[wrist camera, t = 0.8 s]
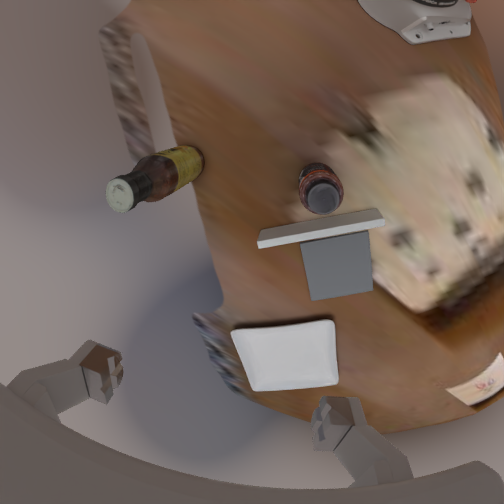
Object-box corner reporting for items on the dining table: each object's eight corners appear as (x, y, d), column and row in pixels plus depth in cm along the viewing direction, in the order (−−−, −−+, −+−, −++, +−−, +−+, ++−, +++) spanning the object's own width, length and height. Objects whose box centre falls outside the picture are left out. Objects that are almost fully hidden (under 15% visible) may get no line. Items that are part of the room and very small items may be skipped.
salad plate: (333, 309, 53) (334, 320, 50) (338, 375, 62) (338, 385, 59) (231, 320, 58) (228, 331, 55) (255, 381, 67) (253, 392, 64)
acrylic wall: (376, 208, 43) (384, 218, 38) (377, 215, 43) (385, 225, 39) (261, 229, 48) (256, 241, 43) (262, 236, 48) (258, 248, 44)
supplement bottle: (290, 178, 43) (288, 195, 33) (319, 154, 41) (326, 164, 31) (315, 205, 44) (319, 231, 34) (343, 183, 42) (356, 202, 32)
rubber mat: (367, 230, 45) (368, 231, 44) (372, 288, 49) (372, 290, 49) (299, 242, 48) (299, 244, 47) (311, 299, 52) (311, 300, 52)
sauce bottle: (191, 137, 42) (124, 151, 25) (212, 167, 44) (156, 199, 27) (163, 159, 45) (90, 187, 27) (183, 188, 47) (119, 230, 29)
